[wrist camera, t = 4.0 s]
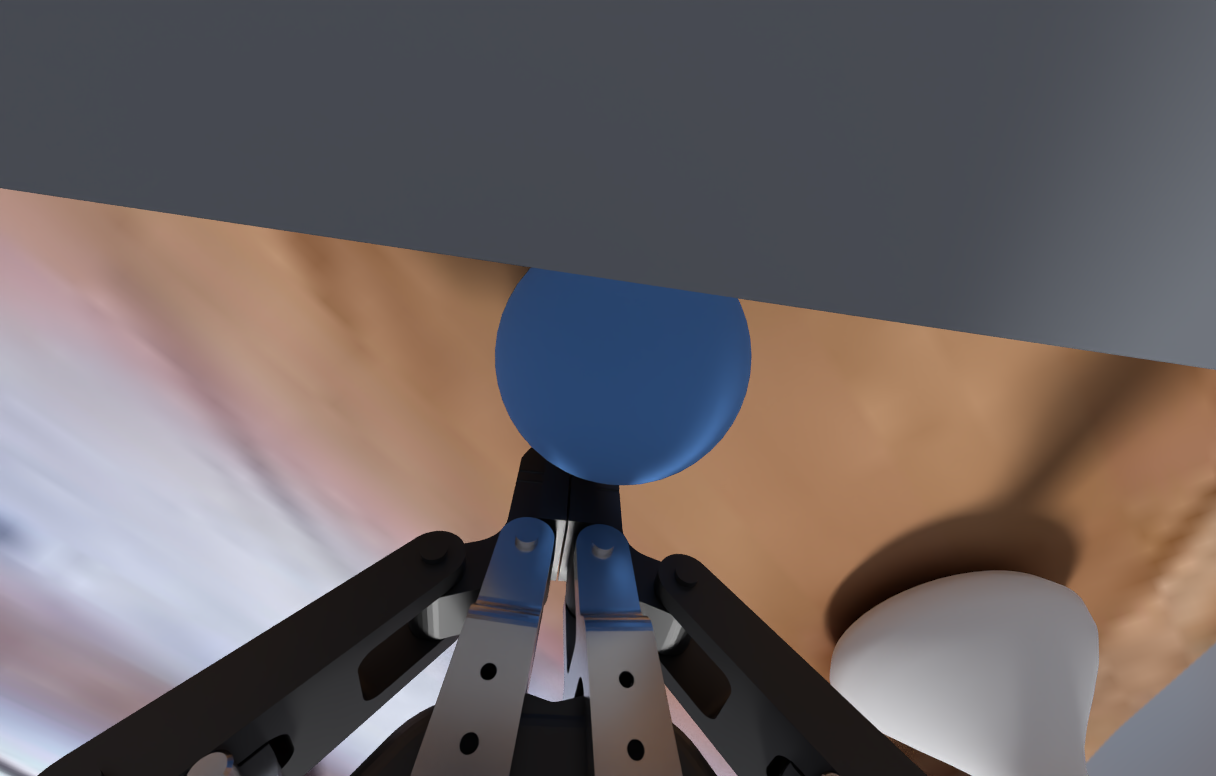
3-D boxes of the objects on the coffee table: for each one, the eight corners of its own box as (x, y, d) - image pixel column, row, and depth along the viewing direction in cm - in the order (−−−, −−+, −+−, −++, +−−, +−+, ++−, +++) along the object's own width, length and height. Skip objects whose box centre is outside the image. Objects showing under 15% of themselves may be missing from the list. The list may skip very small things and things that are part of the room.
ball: (463, 520, 7) (538, 147, 6) (477, 422, 13) (517, 219, 12) (763, 548, 9) (852, 257, 8) (658, 451, 15) (704, 275, 14)
